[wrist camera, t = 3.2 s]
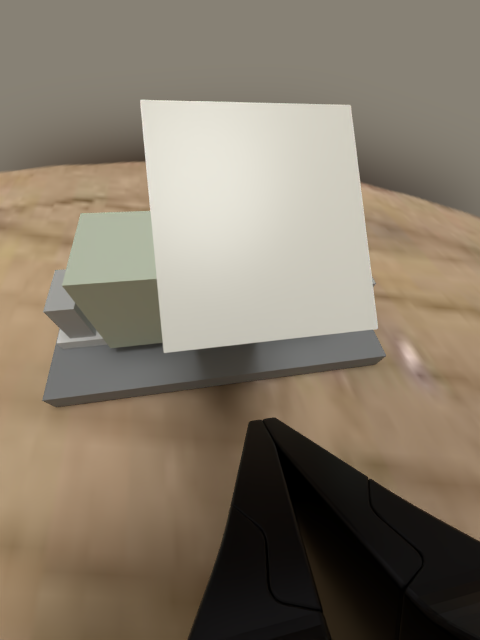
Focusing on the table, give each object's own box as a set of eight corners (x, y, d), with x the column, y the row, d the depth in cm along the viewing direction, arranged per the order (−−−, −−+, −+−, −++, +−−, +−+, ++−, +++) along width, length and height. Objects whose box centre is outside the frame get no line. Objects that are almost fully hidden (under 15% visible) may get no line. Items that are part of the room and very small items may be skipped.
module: (259, 331, 17) (378, 328, 6) (191, 338, 17) (163, 353, 5) (250, 254, 18) (348, 92, 6) (183, 258, 17) (138, 85, 5)
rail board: (375, 364, 19) (463, 295, 12) (55, 407, 16) (-66, 347, 9) (333, 274, 24) (379, 188, 17) (79, 294, 21) (10, 198, 14)
